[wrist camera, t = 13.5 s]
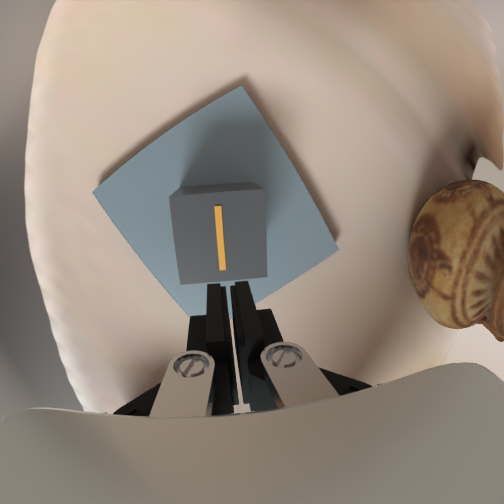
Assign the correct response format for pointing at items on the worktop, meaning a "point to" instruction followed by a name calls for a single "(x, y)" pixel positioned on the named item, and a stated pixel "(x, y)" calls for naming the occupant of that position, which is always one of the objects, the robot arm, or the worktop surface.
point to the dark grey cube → (219, 232)
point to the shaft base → (208, 173)
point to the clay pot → (461, 256)
